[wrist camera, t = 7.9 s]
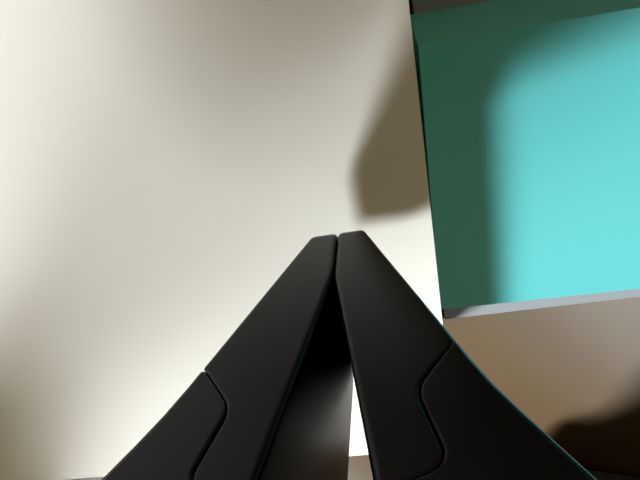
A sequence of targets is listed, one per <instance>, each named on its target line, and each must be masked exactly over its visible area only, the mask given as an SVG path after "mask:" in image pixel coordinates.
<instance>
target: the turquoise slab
mask: <svg viewBox="0 0 640 480" xmlns="http://www.w3.org/2000/svg"><path fill="white" fill-rule="evenodd" d="M410 18H411V27H412V37H413V46H414V56H415V65H416V75H417V84H418V94H419V103H420V112H421V122H422V131H423V141H424V150H425V160H426V169H427V179H428V188H429V198H430V207H431V217H432V226H433V236H434V245H435V255H436V264H437V274H438V283H439V293H440V302H441V309H450V308H460V307H469V306H479V305H489V304H498V303H508V302H517V301H527V300H536V299H546V298H556V297H565V296H575V295H584V294H594V293H603V292H613V291H622V290H632V289H640V0H492V1H486V2H480V3H475V4H469V5H463V6H458V7H452V8H446V9H440V10H435V11H429V12H423V13H418V14H412V15H410Z"/></svg>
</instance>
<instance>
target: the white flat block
mask: <svg viewBox="0 0 640 480" xmlns="http://www.w3.org/2000/svg"><path fill="white" fill-rule="evenodd" d="M358 230H363V231H365V232H366V233H367V235H368V236H369V237H370V238H371V240H372V241H373V242H374V243H375V244H376V246H377V247H378V248H379V249H380V250H381V252H382V253H383V254H384V255H385V256H386V258H387V259H388V260H389V261H390V262H391V264H392V265H393V266H394V267H395V268H396V270H397V271H398V272H399V273H400V275H401V276H402V277H403V278H404V279H405V281H406V282H407V283H408V284H409V285H410V287H411V288H412V289H413V290H414V291H415V293H416V294H417V295H418V296H419V297H420V299H421V300H422V301H423V302H424V303H425V305H426V306H427V307H428V308H429V310H430V311H431V312H432V313H433V314H434V316H435V317H436V318H437V319H438V320H439V322H440V323H441V324H442V325H443V321H442V312H441V302H440V293H439V283H438V274H437V264H436V255H435V245H434V236H433V226H432V217H431V207H430V198H429V188H428V179H427V169H426V160H425V150H424V141H423V131H422V122H421V112H420V103H419V94H418V84H417V75H416V65H415V56H414V46H413V37H412V27H411V18H410V8H409V0H0V480H68V479H80V478H93V477H105V476H106V475H107V474H108V473H109V472H110V471H111V470H112V469H113V468H114V467H115V466H116V464H117V463H118V462H119V461H120V460H121V459H122V458H123V457H124V456H125V455H126V454H127V453H128V452H129V451H130V450H131V449H132V448H133V447H134V446H135V445H136V444H137V443H138V442H139V441H140V440H141V439H142V438H143V437H144V436H145V435H146V434H147V433H148V432H149V431H150V430H151V429H152V428H153V427H154V425H155V424H156V423H157V422H158V421H159V420H160V419H161V418H162V417H163V416H164V415H165V414H166V413H167V411H168V410H169V409H170V408H171V407H172V406H173V404H174V403H175V402H176V401H177V400H178V399H179V398H180V396H181V395H182V394H183V393H184V392H185V391H186V389H187V388H188V387H189V386H190V385H191V383H192V382H193V381H194V380H195V379H196V377H197V376H198V375H199V374H200V373H201V372H205V371H204V368H205V367H206V365H207V364H208V363H209V362H210V361H211V359H212V358H213V357H214V356H215V355H216V353H217V352H218V351H219V350H220V348H221V347H222V346H223V345H224V344H225V342H226V341H227V340H228V339H229V337H230V336H231V335H232V334H233V333H234V331H235V330H236V329H237V328H238V327H239V325H240V324H241V323H242V322H243V320H244V319H245V318H246V317H247V316H248V314H249V313H250V312H251V311H252V310H253V308H254V307H255V306H256V305H257V303H258V302H259V301H260V300H261V299H262V297H263V296H264V295H265V294H266V292H267V291H268V290H269V289H270V288H271V286H272V285H273V284H274V283H275V282H276V280H277V279H278V278H279V277H280V275H281V274H282V273H283V272H284V271H285V269H286V268H287V267H288V266H289V265H290V263H291V262H292V261H293V260H294V258H295V257H296V256H297V255H298V254H299V252H300V251H301V250H302V249H303V247H304V246H305V245H306V244H307V243H308V241H309V240H310V239H311V238H313V237H316V236H323V235H330V234H335V235H337V236H339V234H341V233H344V232H351V231H358ZM357 455H369V454H368V449H367V444H366V439H365V433H364V428H363V423H362V418H361V413H360V408H359V403H358V398H357V392H356V387H355V382H354V377H353V396H352V412H351V428H350V445H349V456H357Z"/></svg>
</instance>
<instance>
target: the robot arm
mask: <svg viewBox="0 0 640 480" xmlns="http://www.w3.org/2000/svg"><path fill="white" fill-rule="evenodd" d="M204 371H205V372H201V373H200V374H199V375H198V376H197V377H196V379H195V380H194V381H193V382H192V383H191V385H190V386H189V387H188V388H187V389H186V391H185V392H184V393H183V394H182V395H181V396H180V398H179V399H178V400H177V401H176V402H175V403H174V404H173V406H172V407H171V408H170V409H169V410H168V411H167V413H166V414H165V415H164V416H163V417H162V418H161V419H160V420H159V421H158V422H157V423H156V424H155V425H154V427H153V428H152V429H151V430H150V431H149V432H148V433H147V434H146V435H145V436H144V437H143V438H142V439H141V440H140V441H139V442H138V443H137V444H136V445H135V446H134V447H133V448H132V449H131V450H130V451H129V452H128V453H127V454H126V455H125V456H124V457H123V458H122V459H121V460H120V461H119V462H118V463H117V464H116V466H115V467H114V468H113V469H112V470H111V471H110V472H109V473H108V474H107V475H106V476H105V477H104V478H103V479H102V480H347V477H348V461H349V445H350V428H351V412H352V396H353V377H354V382H355V387H356V392H357V398H358V403H359V408H360V413H361V418H362V423H363V428H364V433H365V439H366V444H367V449H368V454H369V459H370V464H371V469H372V474H373V480H597V479H596V478H595V477H594V476H592V475H591V474H590V473H589V472H588V471H587V470H586V469H585V468H584V467H583V466H581V465H580V464H579V463H578V462H577V461H576V460H575V459H574V458H573V457H571V456H570V455H569V454H568V453H567V452H566V451H565V450H564V449H563V448H562V447H560V446H559V445H558V444H557V443H556V442H555V441H554V440H553V439H552V438H551V437H549V436H548V435H547V434H546V433H545V432H544V431H543V430H542V429H541V428H539V427H538V426H537V425H536V424H535V423H534V422H533V421H532V420H531V419H530V418H528V417H527V416H526V415H525V414H524V413H523V412H522V411H521V410H520V409H519V408H518V407H517V406H516V405H515V404H513V403H512V402H511V401H510V400H509V399H508V398H507V397H506V396H505V395H504V394H503V393H502V392H501V391H500V390H499V389H498V388H497V387H496V386H495V385H494V384H493V383H492V382H491V381H490V380H489V379H488V378H487V377H486V375H485V374H484V373H483V372H482V371H481V370H480V369H479V368H478V367H477V365H476V364H475V363H474V362H473V361H472V360H471V359H470V357H469V356H468V355H467V354H466V353H465V351H464V350H463V349H462V348H461V347H460V345H459V344H457V343H456V342H455V340H454V338H453V337H452V336H451V335H450V334H449V332H448V331H447V330H446V329H445V328H444V326H443V325H442V324H441V323H440V322H439V320H438V319H437V318H436V317H435V316H434V314H433V313H432V312H431V311H430V310H429V308H428V307H427V306H426V305H425V303H424V302H423V301H422V300H421V299H420V297H419V296H418V295H417V294H416V293H415V291H414V290H413V289H412V288H411V287H410V285H409V284H408V283H407V282H406V281H405V279H404V278H403V277H402V276H401V275H400V273H399V272H398V271H397V270H396V268H395V267H394V266H393V265H392V264H391V262H390V261H389V260H388V259H387V258H386V256H385V255H384V254H383V253H382V252H381V250H380V249H379V248H378V247H377V246H376V244H375V243H374V242H373V241H372V240H371V238H370V237H369V236H368V235H367V233H366V232H365V231H363V230H358V231H351V232H344V233H341V234H339V236H337V235H335V234H330V235H323V236H316V237H313V238H311V239H310V240H309V241H308V243H307V244H306V245H305V246H304V247H303V249H302V250H301V251H300V252H299V254H298V255H297V256H296V257H295V258H294V260H293V261H292V262H291V263H290V265H289V266H288V267H287V268H286V269H285V271H284V272H283V273H282V274H281V275H280V277H279V278H278V279H277V280H276V282H275V283H274V284H273V285H272V286H271V288H270V289H269V290H268V291H267V292H266V294H265V295H264V296H263V297H262V299H261V300H260V301H259V302H258V303H257V305H256V306H255V307H254V308H253V310H252V311H251V312H250V313H249V314H248V316H247V317H246V318H245V319H244V320H243V322H242V323H241V324H240V325H239V327H238V328H237V329H236V330H235V331H234V333H233V334H232V335H231V336H230V337H229V339H228V340H227V341H226V342H225V344H224V345H223V346H222V347H221V348H220V350H219V351H218V352H217V353H216V355H215V356H214V357H213V358H212V359H211V361H210V362H209V363H208V364H207V365H206V367H205V368H204Z"/></svg>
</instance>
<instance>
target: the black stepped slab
mask: <svg viewBox="0 0 640 480" xmlns="http://www.w3.org/2000/svg"><path fill="white" fill-rule="evenodd" d="M586 470H587V471H588V472H589V473H590V474H591V475H592V476H594V477H595V478H596V479H597V480H640V478H638V477H632V476H625V475H619V474H613V473H606V472H600V471H594V470H588V469H586Z"/></svg>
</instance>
